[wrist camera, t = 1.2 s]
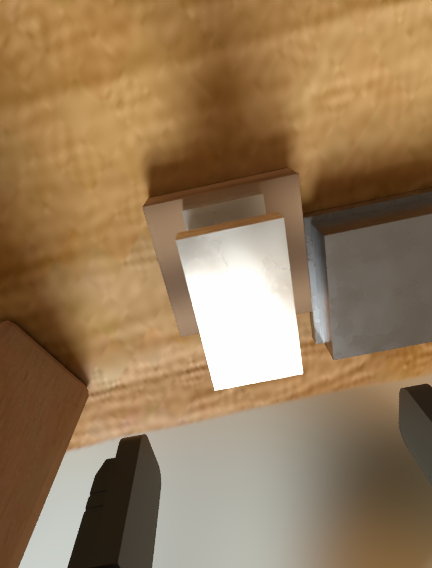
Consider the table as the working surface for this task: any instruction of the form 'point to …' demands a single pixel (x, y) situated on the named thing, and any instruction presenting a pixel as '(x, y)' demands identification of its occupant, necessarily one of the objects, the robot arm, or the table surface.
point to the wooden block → (31, 433)
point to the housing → (241, 289)
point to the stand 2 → (371, 274)
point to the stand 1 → (168, 208)
